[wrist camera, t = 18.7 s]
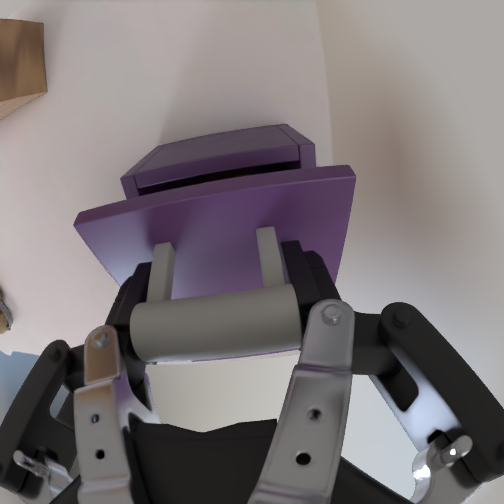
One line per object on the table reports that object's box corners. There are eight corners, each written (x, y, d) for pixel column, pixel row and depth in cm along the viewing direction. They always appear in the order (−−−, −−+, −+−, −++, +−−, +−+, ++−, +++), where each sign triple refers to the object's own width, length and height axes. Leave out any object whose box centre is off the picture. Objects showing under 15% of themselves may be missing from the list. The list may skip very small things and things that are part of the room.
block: (198, 168, 21) (191, 185, 18) (247, 159, 21) (250, 173, 18) (209, 211, 23) (205, 235, 20) (255, 203, 23) (259, 225, 20)
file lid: (78, 211, 10) (35, 332, 6) (349, 163, 9) (417, 288, 6) (191, 353, 22) (193, 413, 19) (316, 337, 22) (328, 397, 19)
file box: (156, 146, 21) (119, 178, 14) (286, 123, 20) (315, 143, 13) (199, 290, 29) (191, 353, 22) (298, 276, 29) (316, 337, 22)
